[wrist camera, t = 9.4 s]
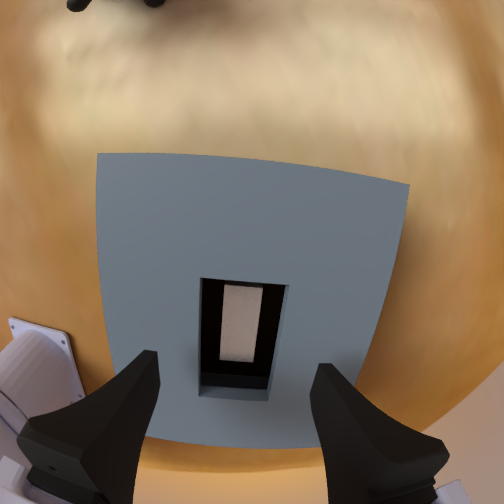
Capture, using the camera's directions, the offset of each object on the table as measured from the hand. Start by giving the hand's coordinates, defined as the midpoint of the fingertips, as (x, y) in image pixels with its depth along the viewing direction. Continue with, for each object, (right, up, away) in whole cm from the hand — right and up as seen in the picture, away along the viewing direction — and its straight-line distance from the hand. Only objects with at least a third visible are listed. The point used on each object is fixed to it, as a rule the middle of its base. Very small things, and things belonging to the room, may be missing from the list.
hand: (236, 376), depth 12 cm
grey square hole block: (0, +3, +9) cm, 9 cm away
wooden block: (0, +3, +9) cm, 9 cm away
